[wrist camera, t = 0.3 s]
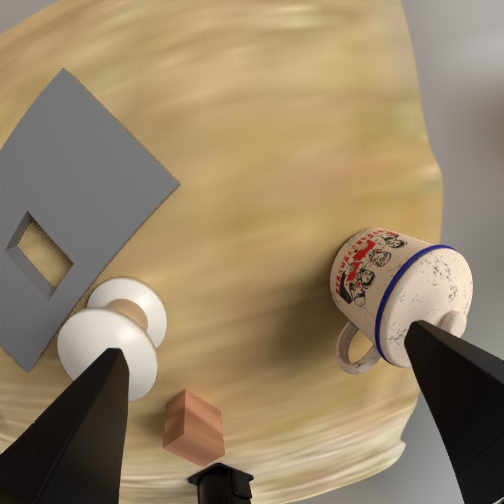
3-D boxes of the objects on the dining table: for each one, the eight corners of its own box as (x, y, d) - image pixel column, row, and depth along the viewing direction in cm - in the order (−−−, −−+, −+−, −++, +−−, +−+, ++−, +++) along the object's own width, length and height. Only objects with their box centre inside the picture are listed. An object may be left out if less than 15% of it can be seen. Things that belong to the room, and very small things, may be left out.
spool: (135, 363, 24) (120, 415, 17) (77, 313, 22) (43, 355, 15) (184, 316, 23) (178, 365, 16) (120, 258, 21) (89, 290, 14)
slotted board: (36, 363, 22) (28, 373, 20) (-43, 271, 18) (-53, 276, 16) (181, 184, 21) (178, 184, 19) (72, 75, 17) (63, 67, 15)
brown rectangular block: (200, 423, 26) (202, 466, 21) (167, 403, 25) (162, 447, 19) (220, 410, 26) (224, 454, 20) (185, 388, 25) (184, 434, 19)
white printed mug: (368, 202, 23) (471, 225, 12) (421, 261, 26) (508, 302, 14) (283, 313, 24) (336, 404, 13) (349, 355, 27) (409, 431, 16)
